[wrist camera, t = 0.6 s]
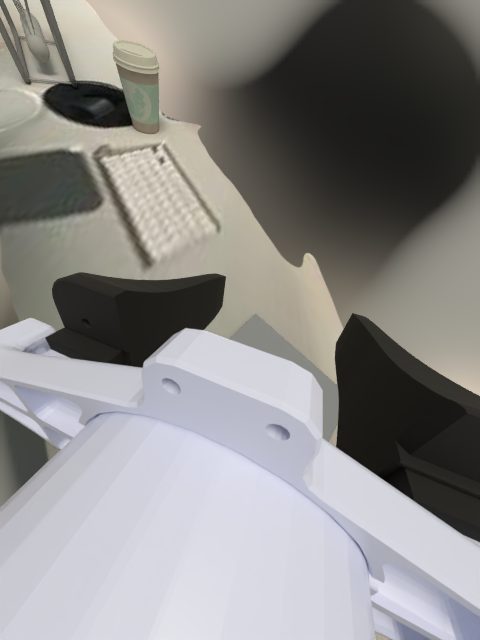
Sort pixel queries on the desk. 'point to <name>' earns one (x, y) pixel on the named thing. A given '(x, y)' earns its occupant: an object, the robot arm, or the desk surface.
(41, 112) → the desk surface
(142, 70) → the coffee cup
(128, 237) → the desk surface
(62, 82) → the newton's cradle
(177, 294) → the robot arm
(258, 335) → the grey square plate
